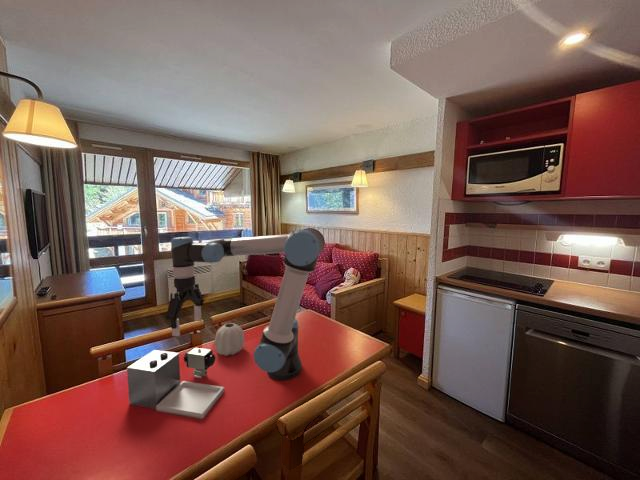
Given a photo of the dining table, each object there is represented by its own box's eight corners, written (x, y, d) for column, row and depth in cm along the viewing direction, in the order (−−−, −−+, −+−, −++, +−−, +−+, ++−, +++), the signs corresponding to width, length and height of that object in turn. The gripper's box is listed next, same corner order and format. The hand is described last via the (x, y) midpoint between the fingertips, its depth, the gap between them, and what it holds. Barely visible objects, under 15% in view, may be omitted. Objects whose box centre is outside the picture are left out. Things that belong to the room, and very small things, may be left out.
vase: (248, 353, 129) (248, 327, 127) (218, 362, 121) (217, 334, 119) (239, 341, 140) (239, 317, 139) (211, 348, 132) (210, 323, 131)
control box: (180, 386, 104) (178, 350, 102) (156, 409, 92) (154, 368, 91) (155, 382, 106) (152, 347, 104) (128, 404, 94) (125, 364, 93)
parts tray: (224, 391, 102) (224, 386, 102) (202, 419, 88) (202, 413, 88) (183, 385, 105) (183, 380, 105) (156, 411, 92) (156, 405, 91)
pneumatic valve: (209, 381, 108) (208, 353, 106) (184, 377, 110) (183, 350, 108) (217, 373, 113) (216, 346, 112) (193, 369, 115) (192, 343, 114)
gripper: (195, 269, 117) (198, 315, 120) (151, 284, 93) (156, 342, 95) (210, 269, 116) (213, 316, 119) (170, 285, 92) (174, 343, 94)
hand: (187, 327), depth 107 cm, fingers open, 13 cm apart
